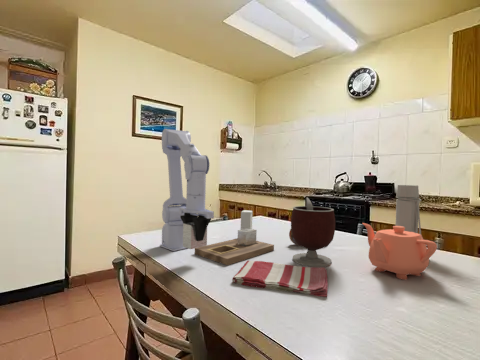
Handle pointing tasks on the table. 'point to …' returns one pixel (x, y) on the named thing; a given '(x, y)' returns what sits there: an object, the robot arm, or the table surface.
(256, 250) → the board
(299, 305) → the table surface
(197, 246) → the block
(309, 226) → the mate gourd
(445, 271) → the table surface
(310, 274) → the dish towel
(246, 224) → the skincare box
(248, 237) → the block
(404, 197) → the water bottle
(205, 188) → the robot arm
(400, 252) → the teapot
